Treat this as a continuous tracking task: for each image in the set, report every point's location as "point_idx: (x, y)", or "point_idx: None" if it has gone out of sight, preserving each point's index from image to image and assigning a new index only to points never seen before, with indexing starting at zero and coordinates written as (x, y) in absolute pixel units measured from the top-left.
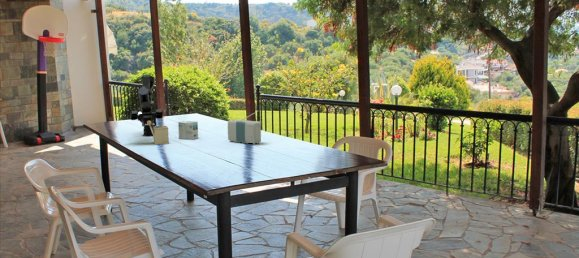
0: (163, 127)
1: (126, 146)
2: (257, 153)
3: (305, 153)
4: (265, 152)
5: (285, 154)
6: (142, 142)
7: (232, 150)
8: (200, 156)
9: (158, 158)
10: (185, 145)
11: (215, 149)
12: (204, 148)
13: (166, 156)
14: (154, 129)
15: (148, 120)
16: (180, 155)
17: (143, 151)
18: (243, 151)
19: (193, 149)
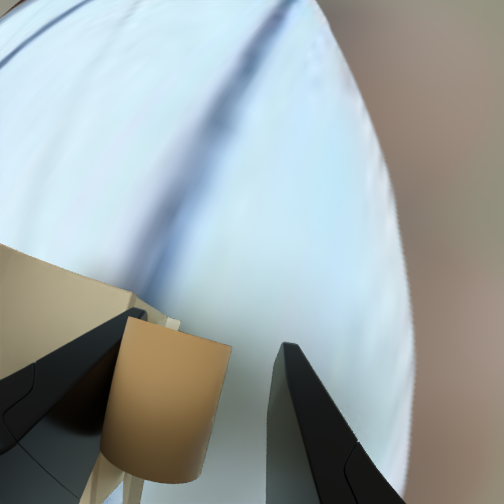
0: (3, 325)
1: (403, 355)
2: (49, 18)
3: (14, 20)
4: (32, 25)
5: (35, 13)
6: (241, 477)
7: (44, 44)
8: (167, 5)
9: (297, 22)
10: (48, 169)
11: (54, 60)
12: (58, 80)
13: (262, 26)
14: (135, 294)
15: (148, 476)
16: (210, 20)
17: (331, 127)
18: (43, 34)
19: (98, 73)
